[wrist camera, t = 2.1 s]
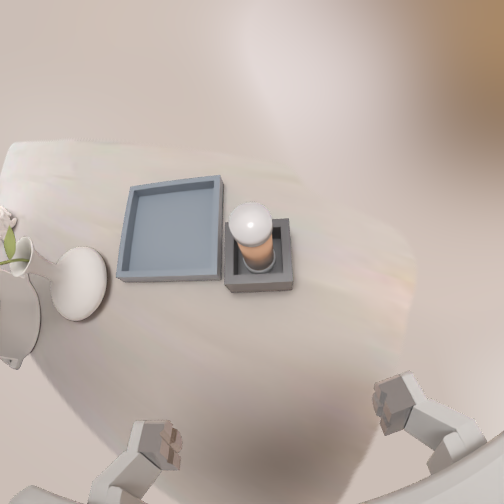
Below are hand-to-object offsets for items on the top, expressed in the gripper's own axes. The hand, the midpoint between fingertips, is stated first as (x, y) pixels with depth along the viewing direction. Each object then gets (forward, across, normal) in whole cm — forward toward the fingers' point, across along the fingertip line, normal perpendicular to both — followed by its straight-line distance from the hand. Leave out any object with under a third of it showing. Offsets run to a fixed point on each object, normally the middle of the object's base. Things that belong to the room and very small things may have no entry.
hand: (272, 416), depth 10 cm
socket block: (+26, 0, +7) cm, 27 cm away
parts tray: (+31, +11, +2) cm, 33 cm away
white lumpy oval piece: (+40, +53, -8) cm, 67 cm away
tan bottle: (+26, 0, +6) cm, 26 cm away
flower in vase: (+27, +28, +5) cm, 39 cm away
